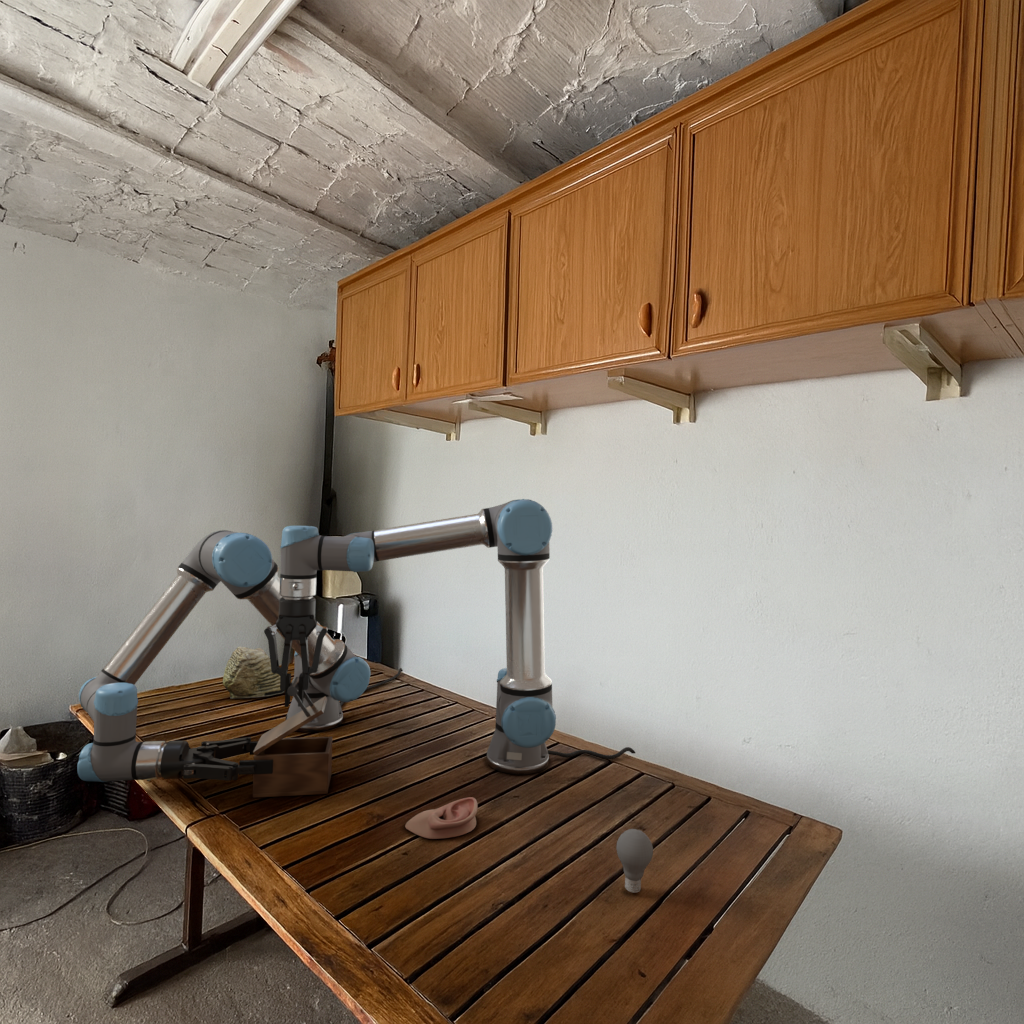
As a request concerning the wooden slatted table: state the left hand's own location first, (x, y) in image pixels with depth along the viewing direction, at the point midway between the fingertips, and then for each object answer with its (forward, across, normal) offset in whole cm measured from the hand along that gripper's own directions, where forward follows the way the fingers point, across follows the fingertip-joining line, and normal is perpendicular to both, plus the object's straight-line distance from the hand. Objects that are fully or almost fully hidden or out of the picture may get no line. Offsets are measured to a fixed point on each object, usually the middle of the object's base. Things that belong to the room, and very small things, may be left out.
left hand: (276, 756), depth 137 cm
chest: (+4, 0, -6) cm, 7 cm away
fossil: (-17, -65, -6) cm, 68 cm away
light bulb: (+64, +45, -6) cm, 79 cm away
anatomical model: (+34, +20, -6) cm, 40 cm away
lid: (+3, 0, +7) cm, 7 cm away
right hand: (+3, 0, +11) cm, 12 cm away
